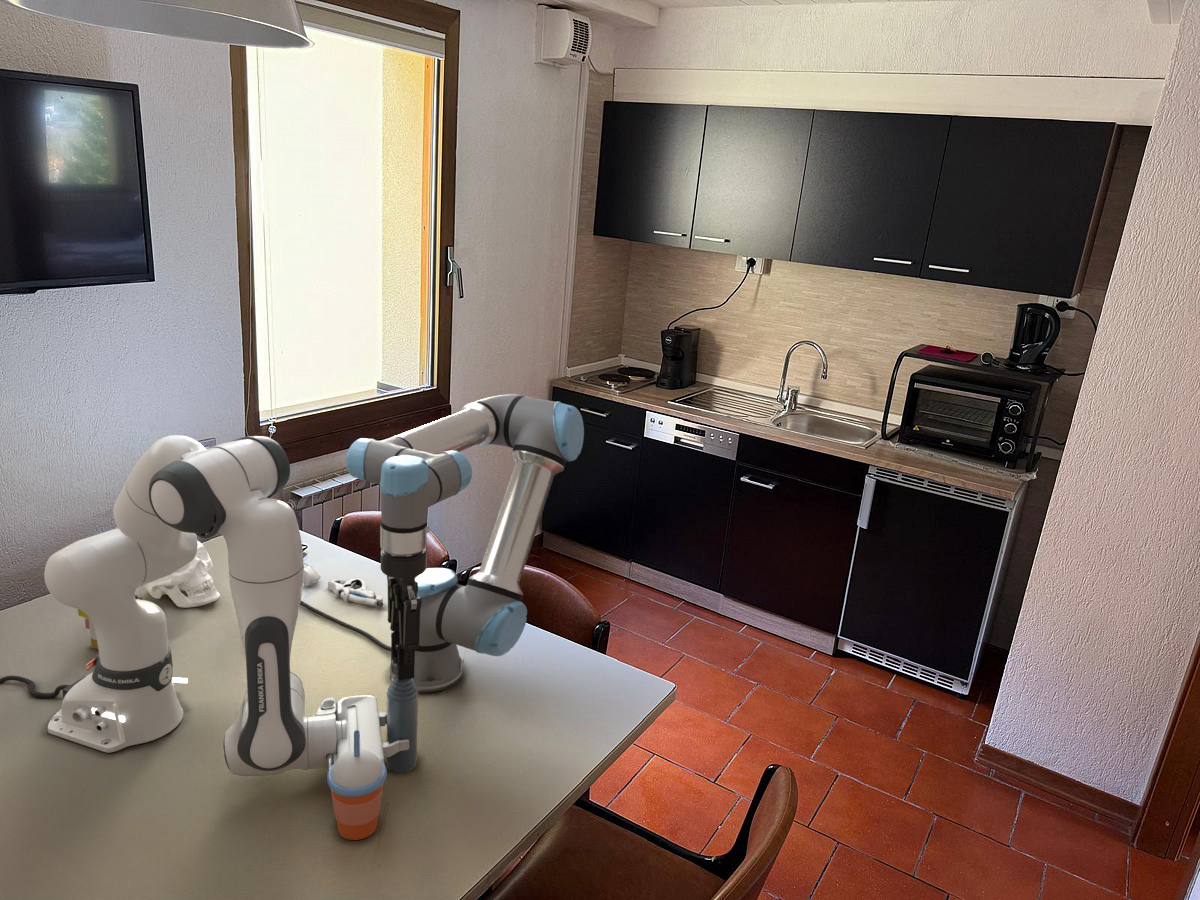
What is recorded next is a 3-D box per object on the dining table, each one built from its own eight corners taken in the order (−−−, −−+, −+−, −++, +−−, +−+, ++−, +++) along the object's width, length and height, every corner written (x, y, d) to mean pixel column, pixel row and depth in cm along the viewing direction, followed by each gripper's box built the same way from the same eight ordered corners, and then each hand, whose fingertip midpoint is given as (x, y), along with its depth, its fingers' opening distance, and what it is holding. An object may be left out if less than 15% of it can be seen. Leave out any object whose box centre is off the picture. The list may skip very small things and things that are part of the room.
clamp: (253, 565, 223) (254, 542, 221) (265, 560, 226) (266, 537, 224) (309, 593, 215) (310, 569, 213) (320, 588, 218) (321, 564, 216)
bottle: (387, 753, 157) (387, 653, 150) (417, 752, 158) (418, 653, 152) (385, 772, 152) (386, 670, 145) (416, 771, 153) (418, 669, 147)
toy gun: (401, 592, 212) (372, 604, 203) (400, 601, 212) (371, 613, 204) (347, 571, 220) (317, 582, 212) (347, 580, 221) (317, 592, 212)
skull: (199, 617, 197) (196, 553, 193) (122, 598, 203) (118, 535, 198) (238, 594, 209) (237, 534, 205) (165, 577, 215) (162, 518, 211)
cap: (391, 665, 150) (391, 654, 150) (414, 664, 151) (414, 653, 151) (390, 677, 147) (390, 665, 146) (413, 676, 148) (413, 665, 147)
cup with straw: (370, 852, 133) (370, 755, 128) (317, 840, 135) (314, 743, 130) (395, 813, 142) (396, 720, 137) (345, 802, 144) (343, 710, 138)
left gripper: (326, 763, 138) (413, 752, 143) (325, 692, 157) (402, 684, 161) (327, 796, 140) (412, 784, 145) (325, 722, 159) (401, 713, 163)
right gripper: (440, 566, 137) (437, 693, 144) (412, 527, 151) (410, 644, 158) (394, 572, 133) (393, 702, 140) (369, 532, 147) (369, 651, 154)
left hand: (407, 731), depth 153 cm, fingers closed on bottle, 5 cm apart
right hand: (402, 671), depth 149 cm, fingers closed on cap, 4 cm apart
